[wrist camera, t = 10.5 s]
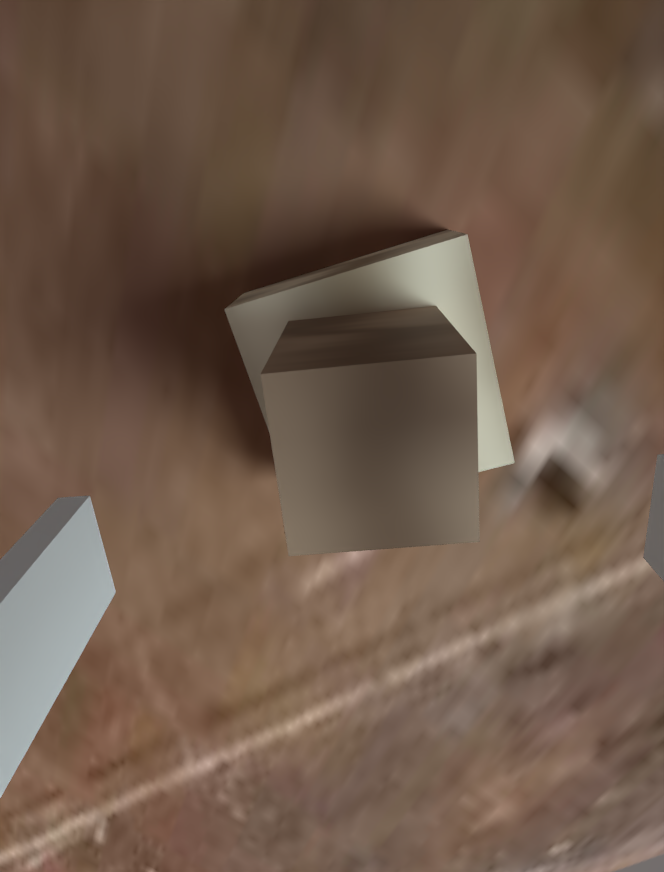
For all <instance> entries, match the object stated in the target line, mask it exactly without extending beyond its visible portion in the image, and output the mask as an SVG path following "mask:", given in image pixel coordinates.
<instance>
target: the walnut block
mask: <svg viewBox="0 0 664 872" xmlns="http://www.w3.org/2000/svg"><path fill="white" fill-rule="evenodd" d="M260 375H261V381H262V387H263V394H264V400H265V407H266V413H267V420H268V426H269V432H270V439H271V445H272V452H273V458H274V465H275V471H276V477H277V484H278V490H279V497H280V503H281V510H282V516H283V522H284V529H285V535H286V542H287V548H288V555H289V556H296V555H309V554H323V553H336V552H350V551H363V550H376V549H390V548H403V547H416V546H430V545H443V544H457V543H470V542H479V480H478V415H477V353H476V352H475V351H474V350H473V349H472V348H471V346H470V345H469V344H468V343H467V342H466V340H465V339H464V338H463V337H462V336H461V335H460V333H459V332H458V331H457V330H456V329H455V327H454V326H453V325H452V324H451V323H450V322H449V320H448V319H447V318H446V317H445V316H444V314H443V313H442V312H441V311H440V310H439V309H438V307H437V306H432V307H422V308H412V309H402V310H392V311H382V312H372V313H362V314H353V315H343V316H333V317H323V318H313V319H303V320H293V321H288V323H287V325H286V326H285V328H284V330H283V332H282V334H281V336H280V338H279V340H278V342H277V344H276V345H275V347H274V349H273V351H272V353H271V355H270V357H269V359H268V361H267V363H266V365H265V366H264V368H263V370H262V372H261V374H260Z"/></svg>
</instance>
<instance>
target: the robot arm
mask: <svg viewBox="0 0 664 872" xmlns="http://www.w3.org/2000/svg"><path fill="white" fill-rule="evenodd" d="M643 558H644V559H645V560H646V561H647V562H648V563H649V565H650V566H651V567H652V568H653V569H654V570H655V572H656V573H657V574H658V575H659V576H660V578H661V579H662V580H663V581H664V454H661V455H657V463H656V470H655V477H654V484H653V492H652V499H651V506H650V513H649V521H648V528H647V535H646V542H645V550H644V557H643ZM115 593H116V591H115V588H114V584H113V580H112V576H111V573H110V569H109V565H108V562H107V558H106V554H105V550H104V547H103V543H102V539H101V536H100V532H99V528H98V524H97V521H96V517H95V513H94V510H93V506H92V502H91V499H90V496H78V497H65V498H57V499H56V501H55V502H54V503H53V504H52V505H51V506H50V507H49V508H48V509H47V510H46V511H45V512H44V513H43V514H42V516H41V517H40V518H39V519H38V520H37V521H36V522H35V523H34V524H33V525H32V526H31V527H30V528H29V530H28V531H27V532H26V533H25V534H24V535H23V536H22V537H21V538H20V539H19V540H18V541H17V542H16V543H15V545H14V546H13V547H12V548H11V549H10V550H9V551H8V552H7V553H6V554H5V555H4V556H3V557H2V559H1V560H0V798H1V796H2V794H3V792H4V791H5V789H6V787H7V785H8V784H9V782H10V780H11V778H12V776H13V775H14V773H15V771H16V769H17V768H18V766H19V764H20V762H21V760H22V759H23V757H24V755H25V753H26V751H27V750H28V748H29V746H30V744H31V743H32V741H33V739H34V737H35V735H36V734H37V732H38V730H39V728H40V726H41V725H42V723H43V721H44V719H45V718H46V716H47V714H48V712H49V710H50V709H51V707H52V705H53V703H54V701H55V700H56V698H57V696H58V694H59V693H60V691H61V689H62V687H63V685H64V684H65V682H66V680H67V678H68V677H69V675H70V673H71V671H72V669H73V668H74V666H75V664H76V662H77V660H78V659H79V657H80V655H81V653H82V652H83V650H84V648H85V646H86V644H87V643H88V641H89V639H90V637H91V635H92V634H93V632H94V630H95V628H96V627H97V625H98V623H99V621H100V619H101V618H102V616H103V614H104V612H105V610H106V609H107V607H108V605H109V603H110V602H111V600H112V598H113V596H114V594H115Z"/></svg>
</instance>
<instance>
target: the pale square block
mask: <svg viewBox="0 0 664 872" xmlns="http://www.w3.org/2000/svg"><path fill="white" fill-rule="evenodd" d="M432 306H437V307H438V309H439V310H440V311H441V312H442V313H443V314H444V316H445V317H446V318H447V319H448V320H449V322H450V323H451V324H452V325H453V326H454V327H455V329H456V330H457V331H458V332H459V333H460V335H461V336H462V337H463V338H464V339H465V340H466V342H467V343H468V344H469V345H470V346H471V348H472V349H473V350H474V351H475V352H476V353H477V415H478V472H480V471H484V470H488V469H492V468H496V467H500V466H504V465H508V464H512V463H515V462H514V458H513V453H512V448H511V443H510V438H509V433H508V429H507V424H506V419H505V414H504V409H503V404H502V400H501V395H500V390H499V385H498V380H497V375H496V370H495V366H494V361H493V356H492V351H491V346H490V341H489V337H488V332H487V327H486V322H485V317H484V312H483V308H482V303H481V298H480V293H479V288H478V283H477V279H476V274H475V269H474V264H473V259H472V254H471V249H470V245H469V240H468V235H467V234H464V233H460V232H456V231H452V230H445V231H442V232H439V233H435V234H432V235H429V236H426V237H423V238H419V239H416V240H413V241H410V242H407V243H403V244H400V245H397V246H394V247H390V248H387V249H384V250H381V251H378V252H374V253H371V254H368V255H365V256H362V257H358V258H355V259H352V260H349V261H345V262H342V263H339V264H336V265H333V266H329V267H326V268H323V269H320V270H317V271H313V272H310V273H307V274H304V275H300V276H297V277H294V278H291V279H288V280H284V281H281V282H278V283H275V284H271V285H268V286H265V287H262V288H259V289H255V290H252V291H249V292H246V293H243V294H242V295H241V296H240V297H238V298H237V299H236V300H235V301H234V302H233V303H231V304H230V305H229V306H228V307H227V308H225V309H224V310H225V313H226V315H227V318H228V321H229V324H230V326H231V329H232V332H233V335H234V337H235V340H236V343H237V346H238V348H239V351H240V354H241V356H242V359H243V362H244V365H245V367H246V370H247V373H248V376H249V378H250V381H251V384H252V387H253V389H254V392H255V395H256V398H257V400H258V403H259V406H260V409H261V411H262V414H263V417H264V420H265V422H266V425H267V428H268V430H269V426H268V420H267V413H266V407H265V400H264V394H263V387H262V381H261V375H260V374H261V372H262V370H263V368H264V366H265V365H266V363H267V361H268V359H269V357H270V355H271V353H272V351H273V349H274V347H275V345H276V344H277V342H278V340H279V338H280V336H281V334H282V332H283V330H284V328H285V326H286V325H287V323H288V321H293V320H303V319H313V318H323V317H333V316H343V315H353V314H362V313H372V312H382V311H392V310H402V309H412V308H422V307H432ZM269 433H270V432H269Z"/></svg>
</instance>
